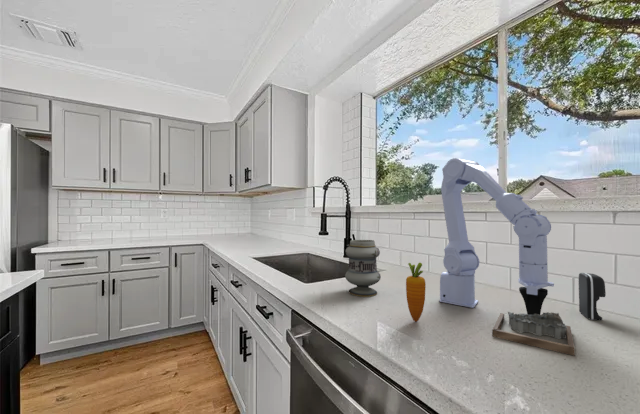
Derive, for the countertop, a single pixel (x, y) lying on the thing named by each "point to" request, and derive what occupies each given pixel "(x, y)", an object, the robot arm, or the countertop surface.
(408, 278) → the carrot
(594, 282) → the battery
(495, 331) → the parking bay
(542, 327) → the egg carton
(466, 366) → the countertop surface
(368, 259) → the apothecary jar
